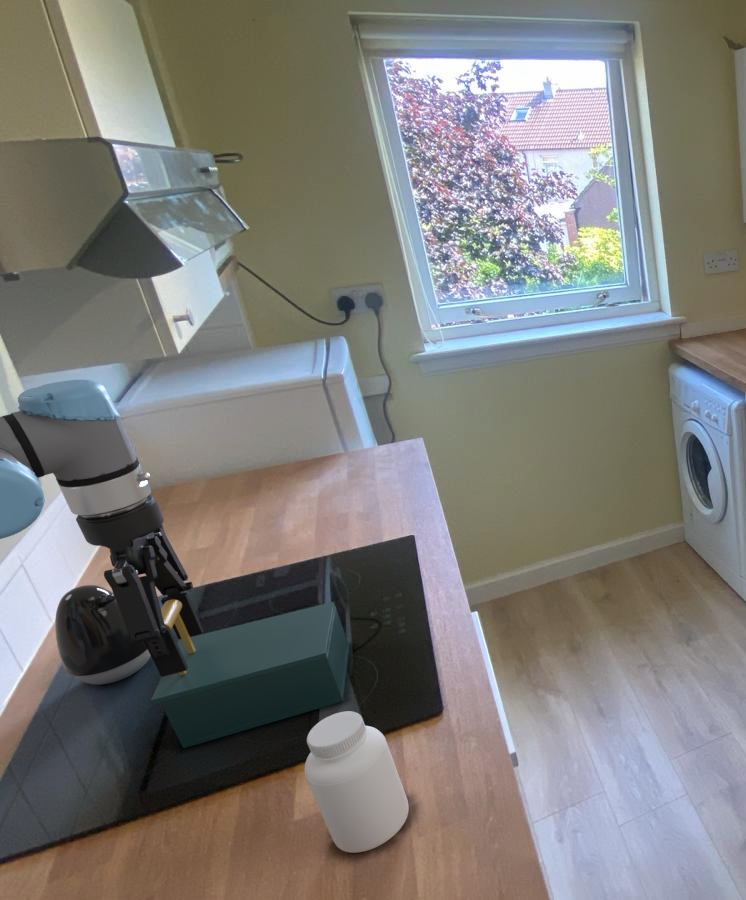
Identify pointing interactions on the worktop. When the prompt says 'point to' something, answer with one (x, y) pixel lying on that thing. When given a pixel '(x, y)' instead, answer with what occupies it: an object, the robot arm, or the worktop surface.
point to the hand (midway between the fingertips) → (183, 652)
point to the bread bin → (262, 696)
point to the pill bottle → (355, 782)
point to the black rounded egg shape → (96, 637)
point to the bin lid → (244, 649)
